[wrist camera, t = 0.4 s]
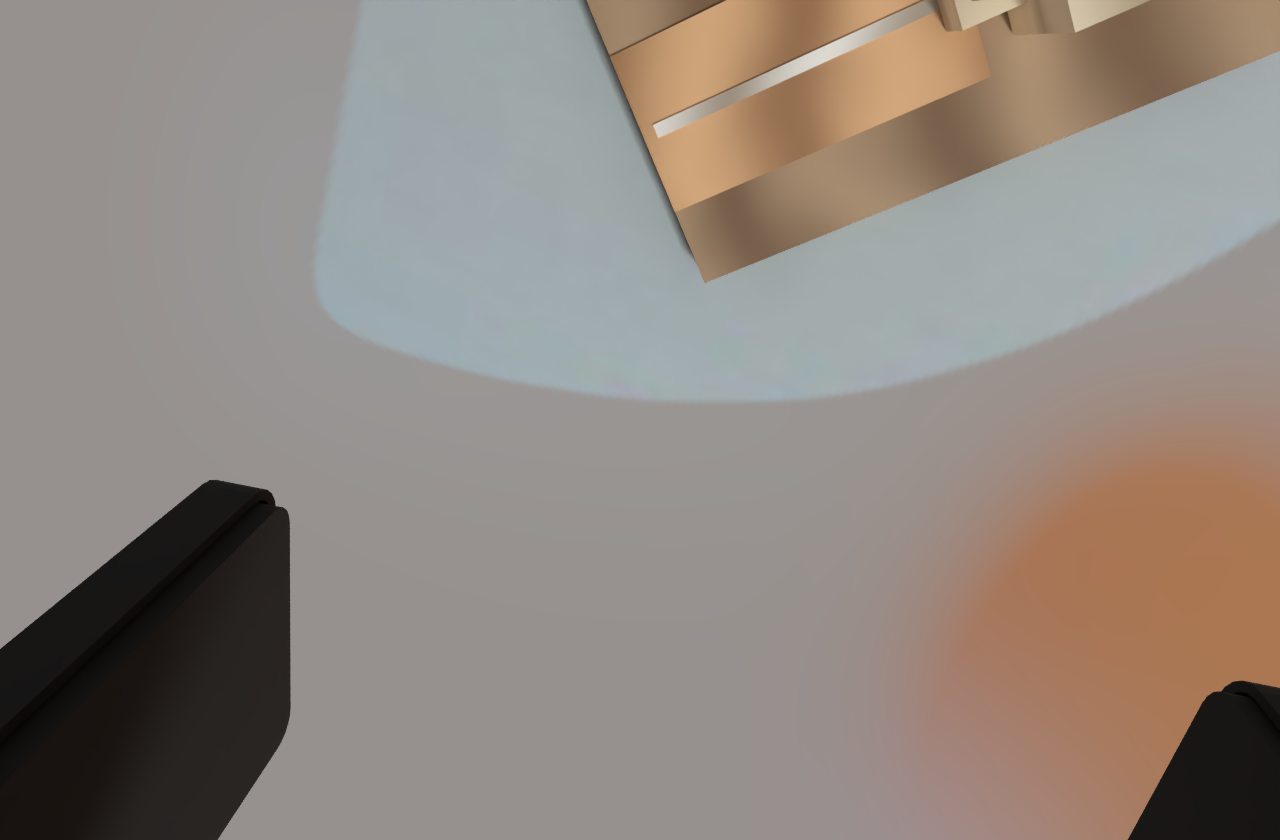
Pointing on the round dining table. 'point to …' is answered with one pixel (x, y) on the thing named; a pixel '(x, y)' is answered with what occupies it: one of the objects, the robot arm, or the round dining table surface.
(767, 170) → the board
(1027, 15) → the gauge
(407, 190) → the round dining table surface
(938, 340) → the round dining table surface
